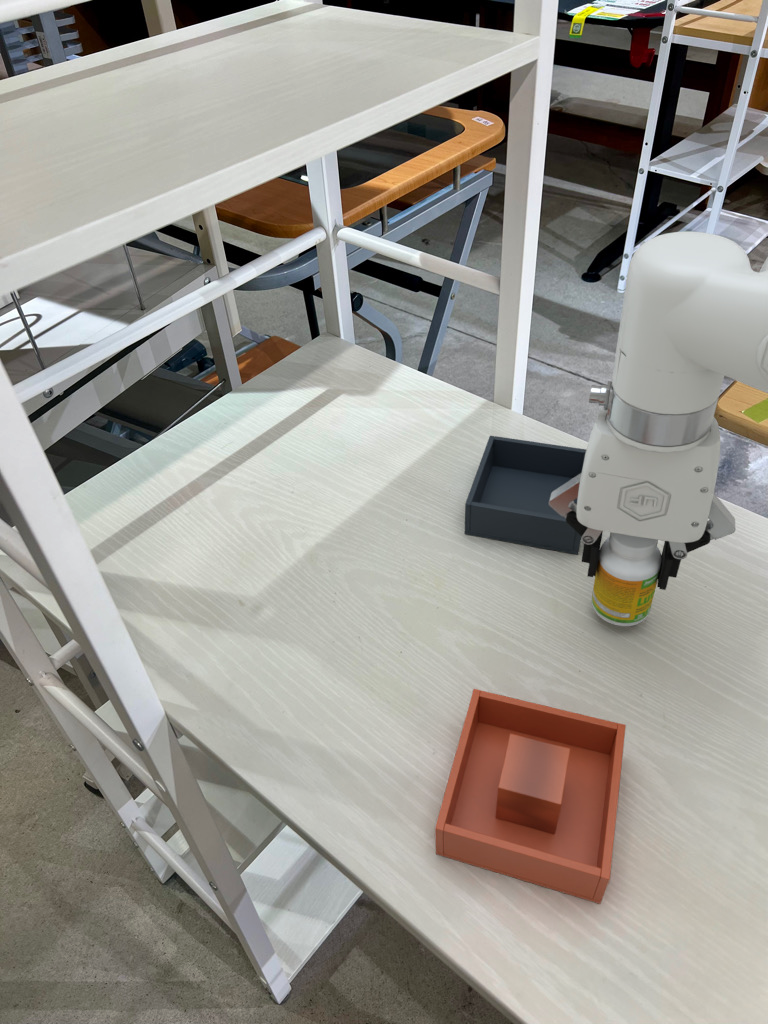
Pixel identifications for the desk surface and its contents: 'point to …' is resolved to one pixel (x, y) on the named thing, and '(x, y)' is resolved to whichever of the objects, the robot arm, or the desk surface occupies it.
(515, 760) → the terracotta block
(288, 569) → the desk surface
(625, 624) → the supplement bottle
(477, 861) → the terracotta bin
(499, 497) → the slate bin
